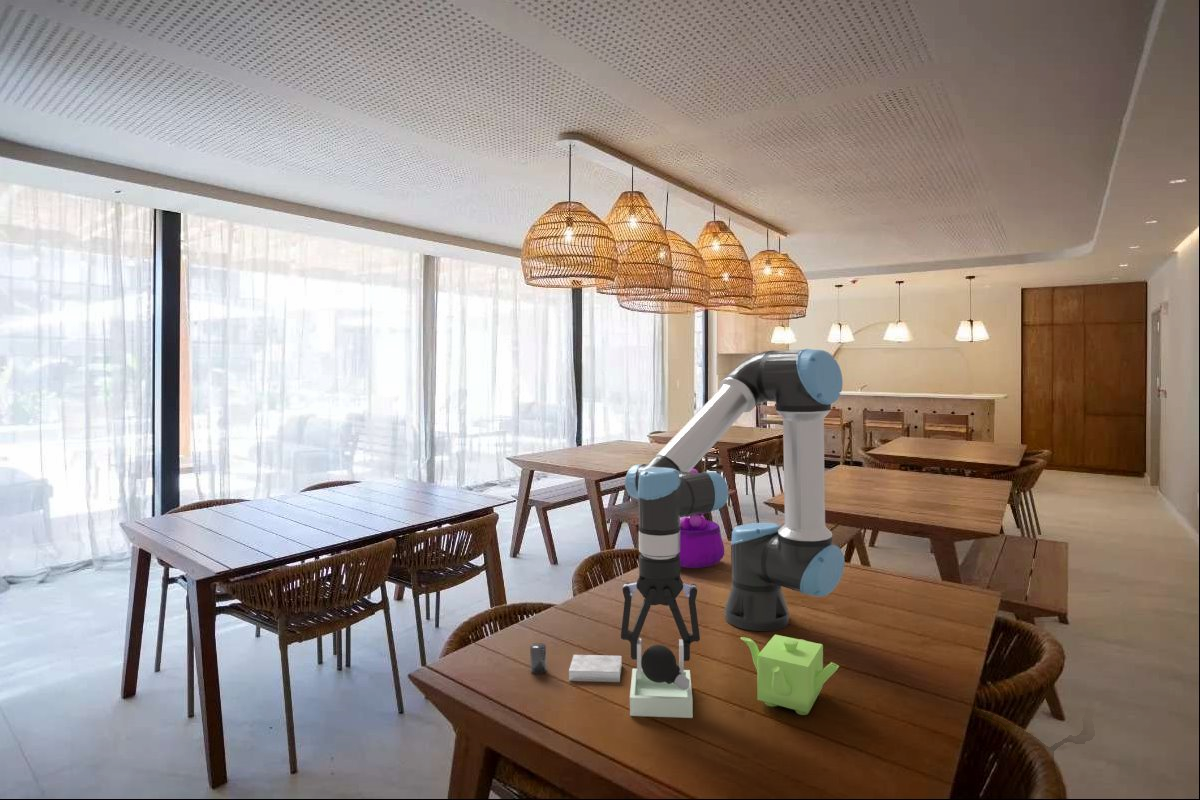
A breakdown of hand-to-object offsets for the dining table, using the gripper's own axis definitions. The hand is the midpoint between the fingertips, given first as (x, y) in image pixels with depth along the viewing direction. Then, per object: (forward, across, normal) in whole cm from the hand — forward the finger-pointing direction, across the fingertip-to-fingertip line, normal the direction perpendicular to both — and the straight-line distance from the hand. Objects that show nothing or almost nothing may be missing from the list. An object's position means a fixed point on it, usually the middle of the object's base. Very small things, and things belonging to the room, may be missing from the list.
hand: (660, 676), depth 119 cm
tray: (+5, 0, 0) cm, 5 cm away
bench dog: (+5, +25, -11) cm, 27 cm away
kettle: (+5, -23, -2) cm, 24 cm away
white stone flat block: (+5, +13, -10) cm, 17 cm away
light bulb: (+1, -1, +2) cm, 2 cm away
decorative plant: (+5, -10, -82) cm, 82 cm away
